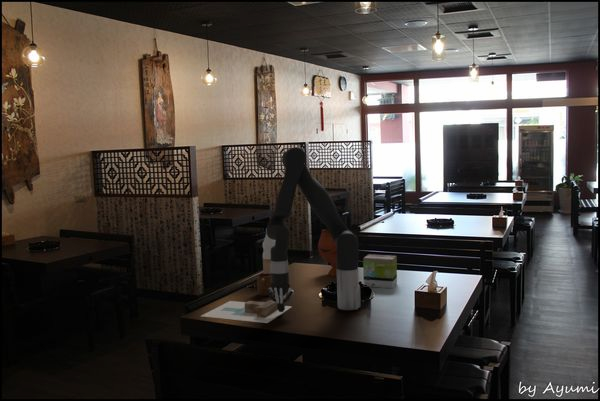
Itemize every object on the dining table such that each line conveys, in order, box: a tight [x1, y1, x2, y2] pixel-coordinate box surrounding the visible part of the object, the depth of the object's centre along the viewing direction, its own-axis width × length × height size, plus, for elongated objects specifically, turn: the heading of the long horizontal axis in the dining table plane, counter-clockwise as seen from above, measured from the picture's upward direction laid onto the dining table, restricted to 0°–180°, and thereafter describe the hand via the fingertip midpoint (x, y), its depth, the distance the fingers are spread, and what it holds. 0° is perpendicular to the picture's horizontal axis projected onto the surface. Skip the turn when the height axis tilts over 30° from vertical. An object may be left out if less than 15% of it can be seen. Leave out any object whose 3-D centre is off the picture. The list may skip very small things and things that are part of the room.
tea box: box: [362, 254, 398, 289], centre depth 269 cm, size 15×10×15 cm
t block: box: [245, 299, 278, 318], centre depth 231 cm, size 12×12×4 cm
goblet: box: [317, 228, 337, 277], centre depth 297 cm, size 19×19×25 cm
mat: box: [200, 300, 293, 324], centre depth 233 cm, size 32×24×1 cm
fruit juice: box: [262, 227, 276, 274], centre depth 289 cm, size 9×9×28 cm
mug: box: [256, 273, 271, 297], centre depth 259 cm, size 12×8×9 cm, turn 175°
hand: (281, 311), depth 226 cm, fingers closed
